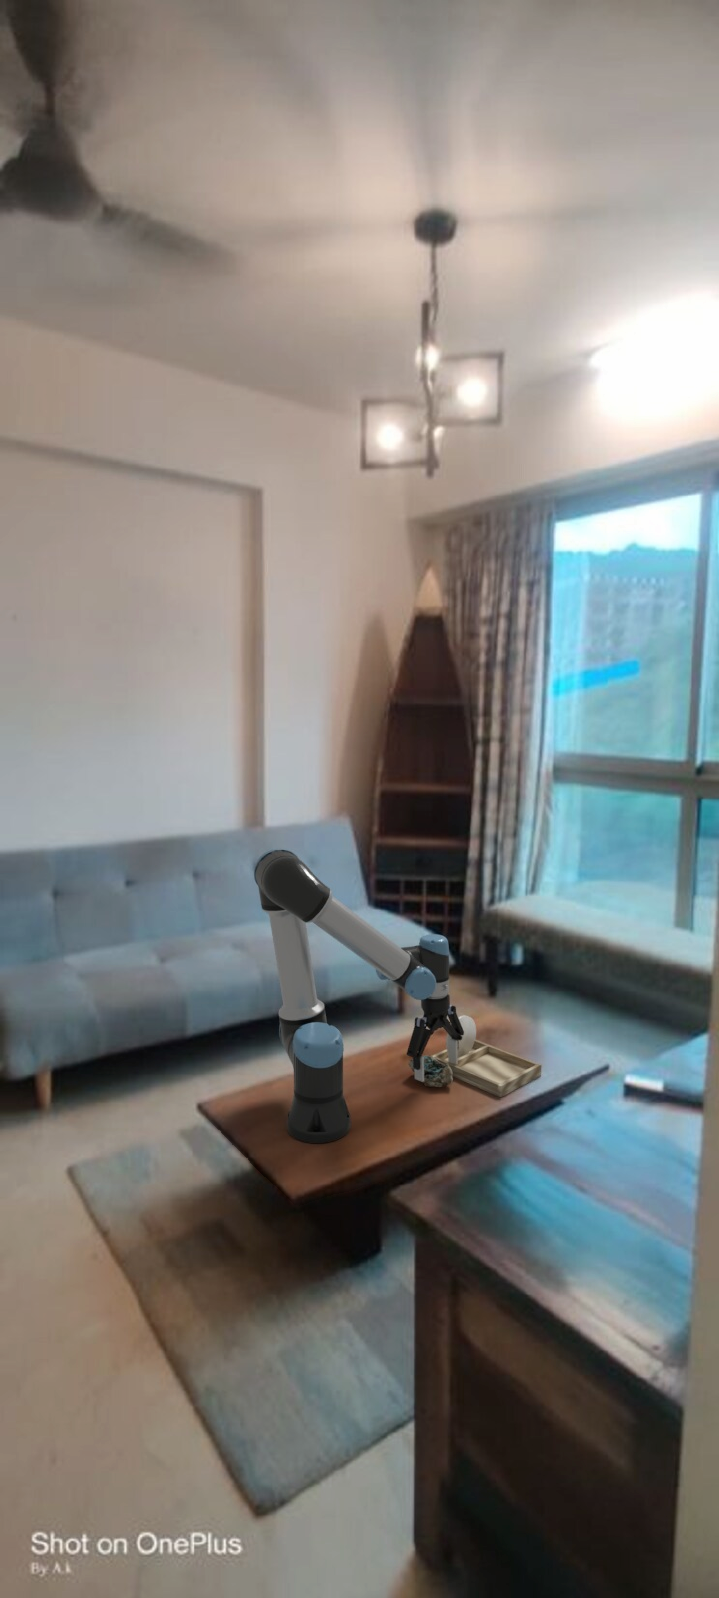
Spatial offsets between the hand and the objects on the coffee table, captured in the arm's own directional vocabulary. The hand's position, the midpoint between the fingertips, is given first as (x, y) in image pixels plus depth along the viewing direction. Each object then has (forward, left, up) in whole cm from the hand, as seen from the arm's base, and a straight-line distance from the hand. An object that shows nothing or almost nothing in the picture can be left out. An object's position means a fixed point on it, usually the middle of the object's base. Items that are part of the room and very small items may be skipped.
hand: (436, 1071), depth 210 cm
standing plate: (+15, +4, -3) cm, 15 cm away
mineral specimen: (-1, +1, -3) cm, 3 cm away
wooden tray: (+15, -5, -3) cm, 16 cm away
